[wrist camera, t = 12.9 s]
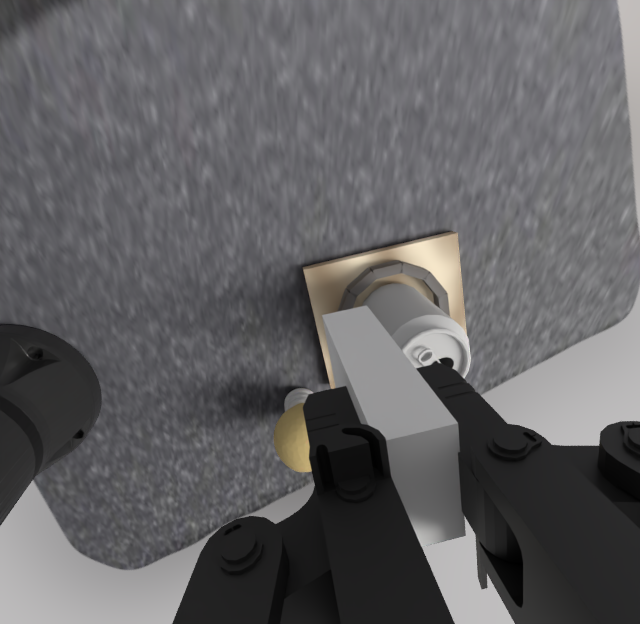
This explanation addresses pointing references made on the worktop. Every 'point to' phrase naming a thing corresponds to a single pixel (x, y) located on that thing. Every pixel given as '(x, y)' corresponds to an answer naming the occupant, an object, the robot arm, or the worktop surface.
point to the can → (420, 327)
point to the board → (388, 279)
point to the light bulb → (293, 432)
